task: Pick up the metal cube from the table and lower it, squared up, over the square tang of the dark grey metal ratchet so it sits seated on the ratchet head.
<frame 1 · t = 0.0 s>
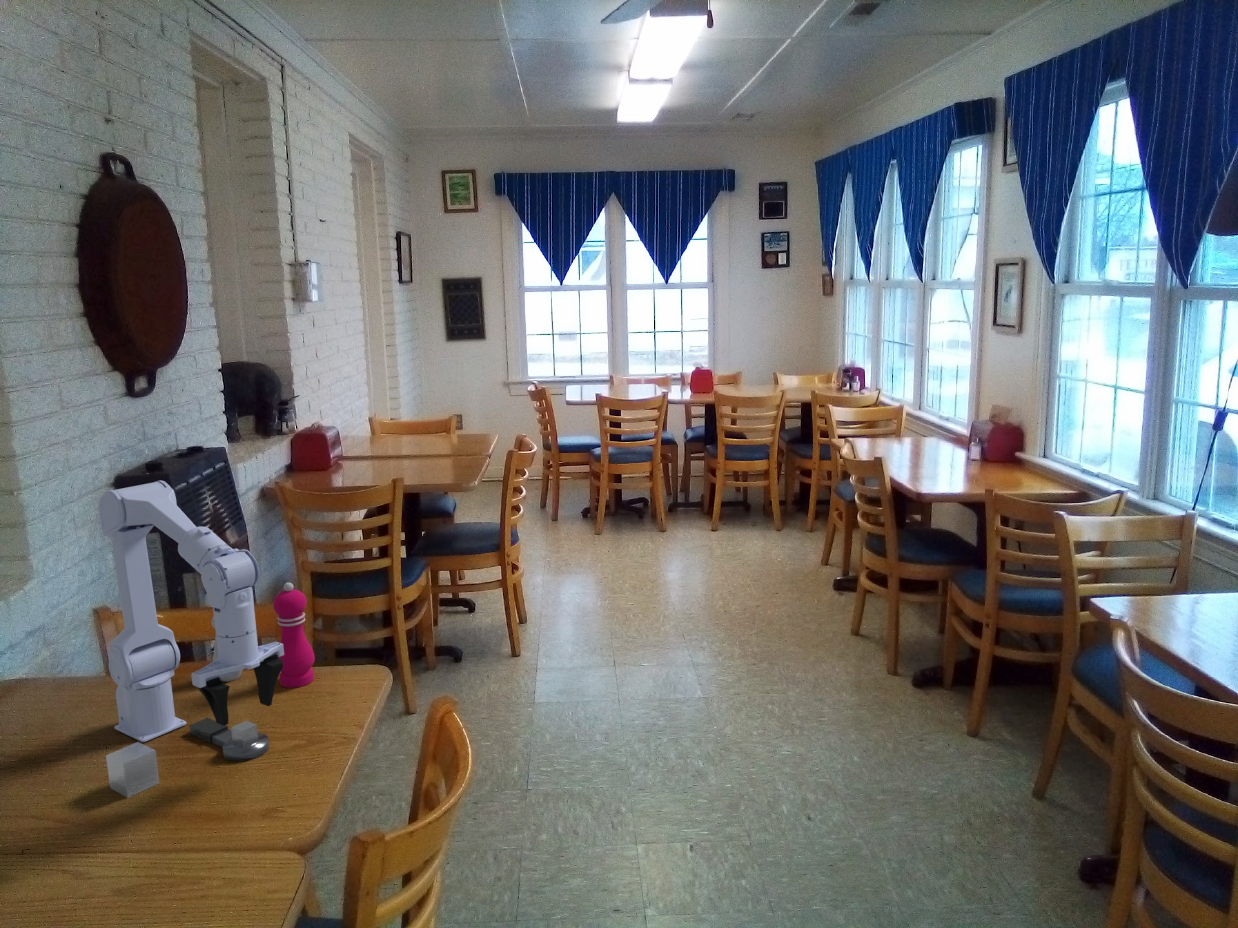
hand: (244, 713, 144), 10 cm above the table, tool pointing down, fingers open, 7 cm apart
pepper mill: (297, 682, 180), on the table
salt shaker: (229, 678, 182), on the table
ratchet: (246, 750, 153), on the table
metal cube: (135, 785, 143), on the table
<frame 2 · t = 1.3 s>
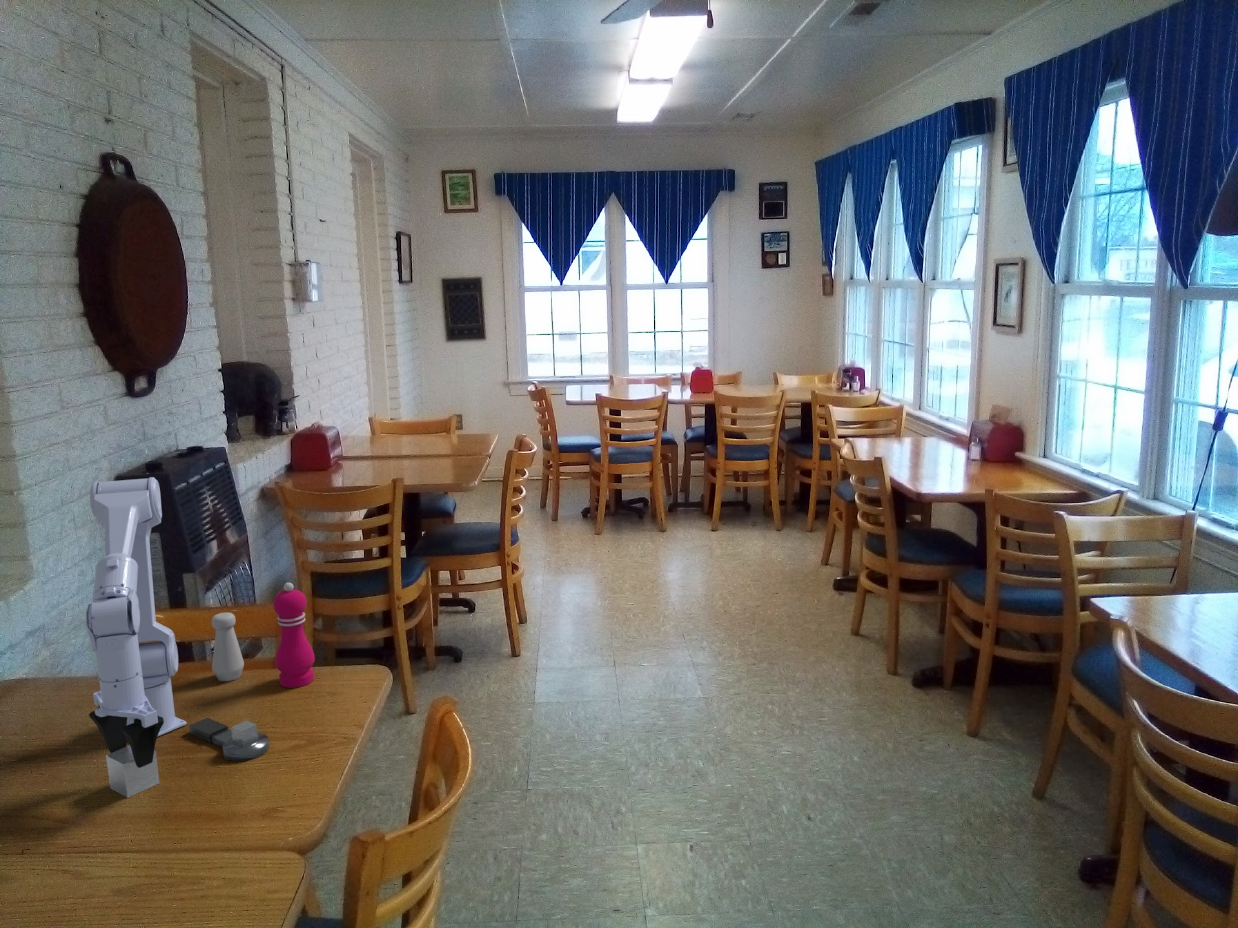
hand: (131, 757, 142), 5 cm above the table, tool pointing down, fingers open, 7 cm apart
nothing on the table moved.
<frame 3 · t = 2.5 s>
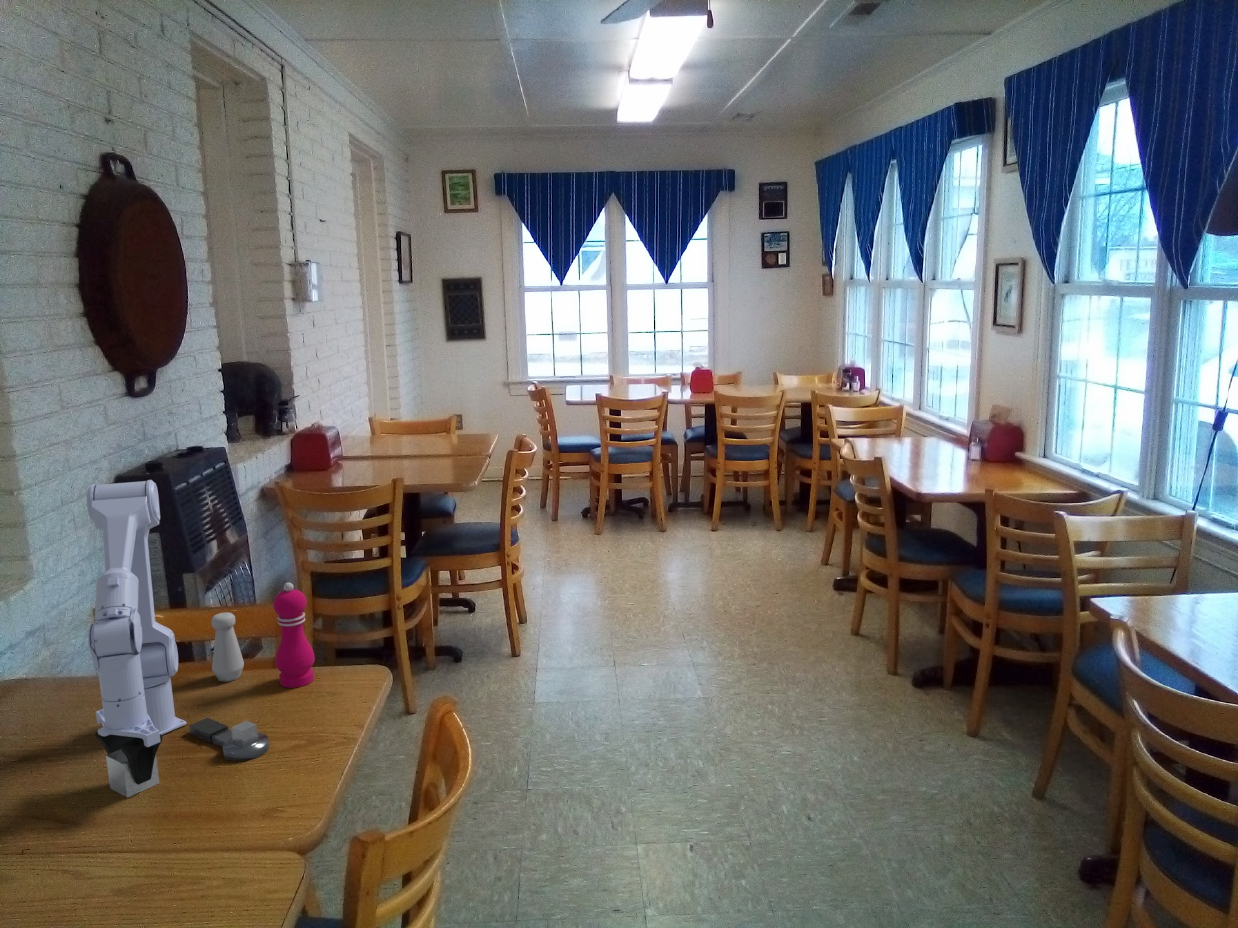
hand: (133, 775, 142), 2 cm above the table, tool pointing down, fingers closed on metal cube, 5 cm apart
metal cube: (135, 785, 143), on the table, touching gripper
everything else where it was.
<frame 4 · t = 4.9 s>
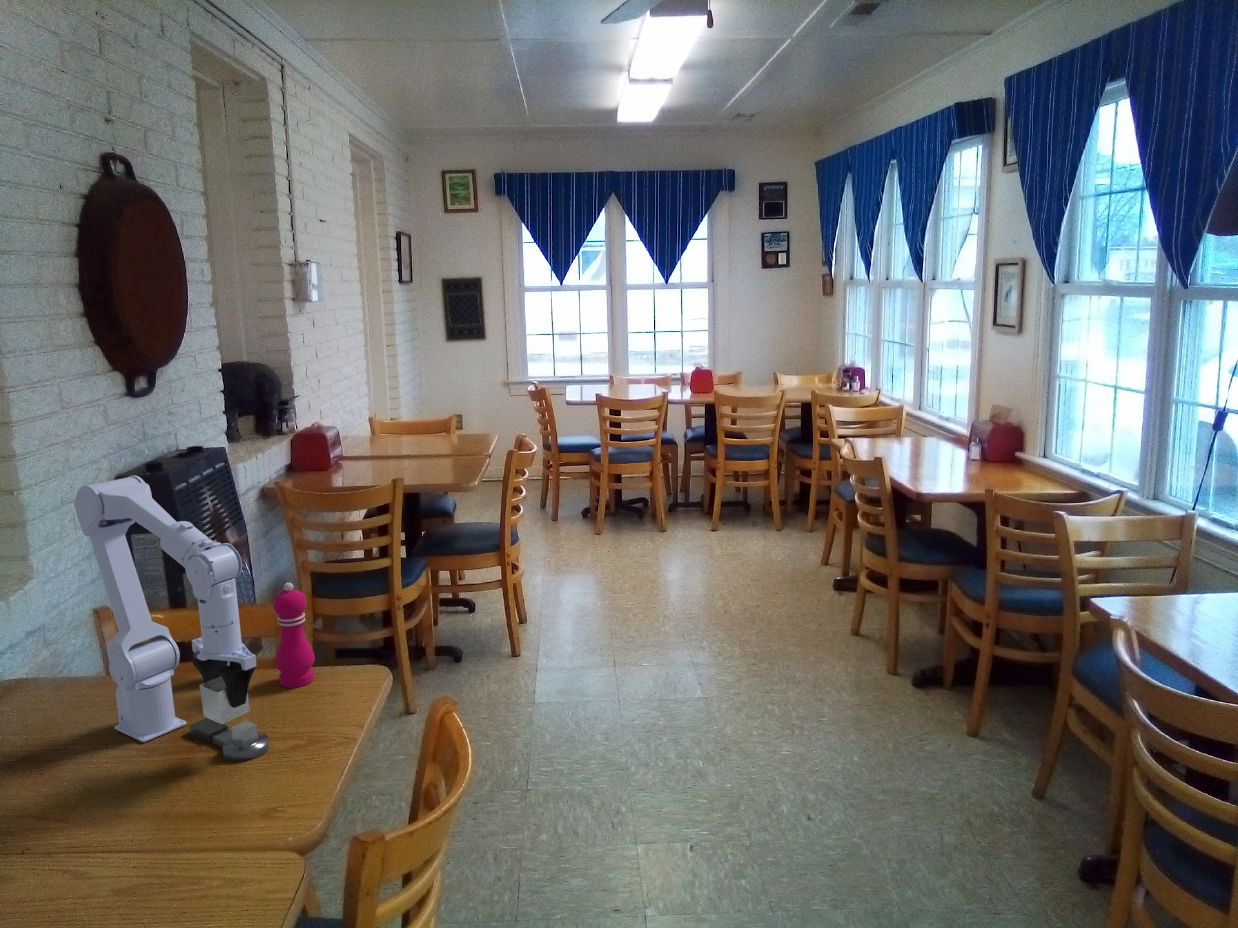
hand: (228, 700, 150), 9 cm above the table, tool pointing down, fingers closed on metal cube, 5 cm apart
metal cube: (227, 713, 150), point 7 cm above the table, touching gripper
everything else where it was.
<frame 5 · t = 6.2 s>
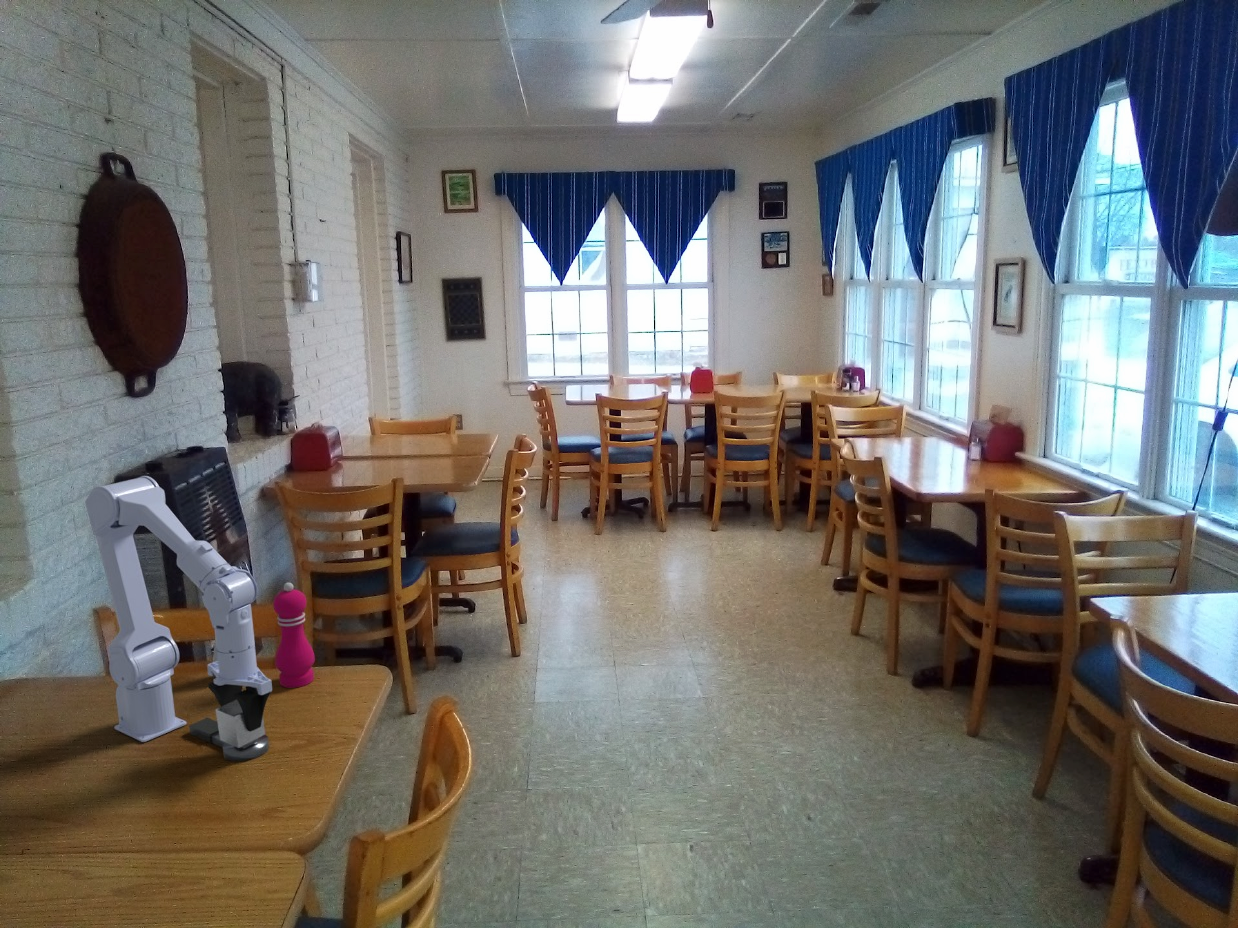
hand: (243, 724, 152), 5 cm above the table, tool pointing down, fingers closed on metal cube, 5 cm apart
metal cube: (242, 736, 152), point 3 cm above the table, touching gripper
everything else where it was.
when the fingers open (4 cm above the table, at t = 7.3 s): metal cube stays where it is, resting on ratchet.
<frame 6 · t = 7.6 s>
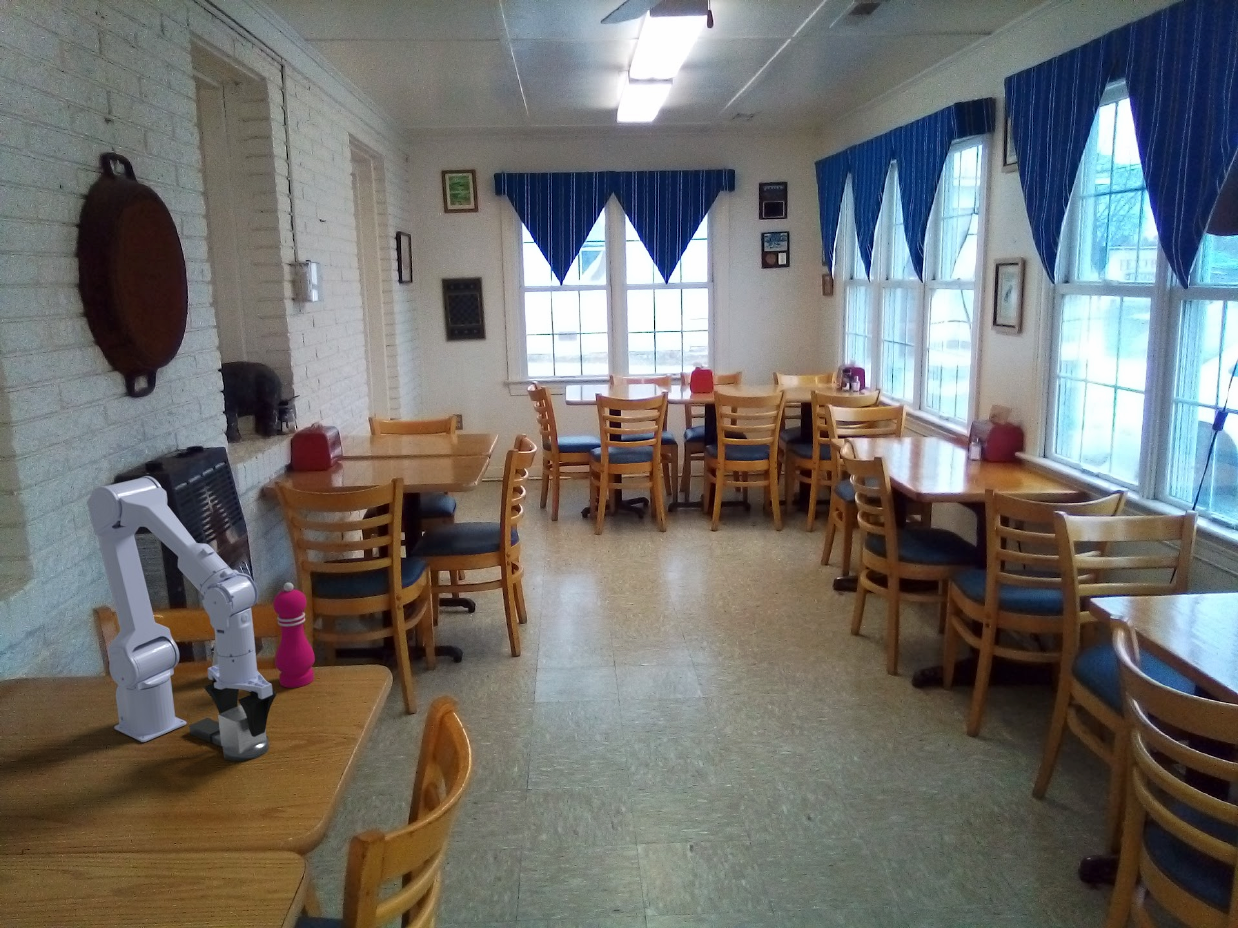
hand: (244, 728, 152), 4 cm above the table, tool pointing down, fingers open, 7 cm apart
metal cube: (244, 743, 153), point 1 cm above the table, touching ratchet
everything else where it was.
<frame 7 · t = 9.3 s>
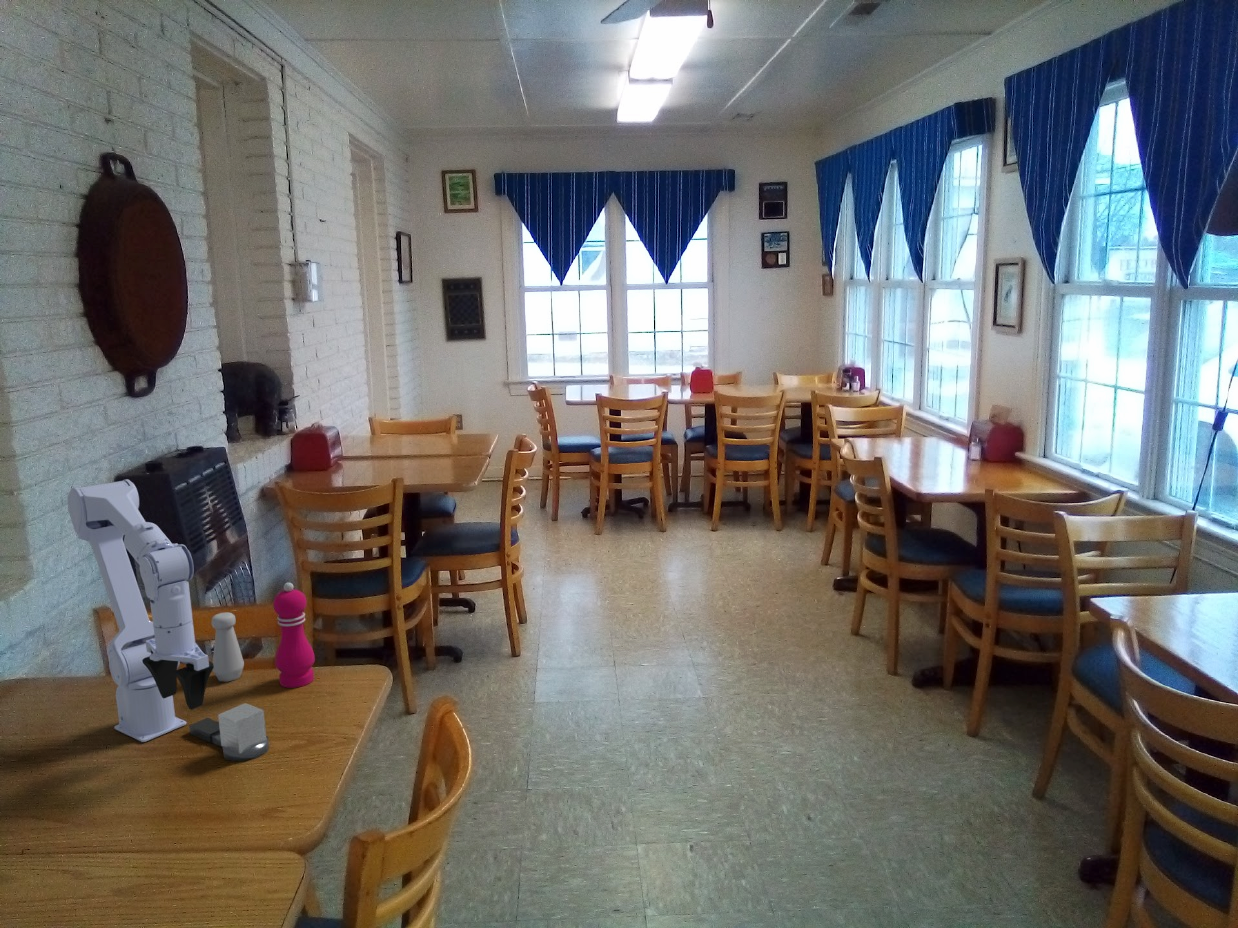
hand: (182, 701, 150), 9 cm above the table, tool pointing down, fingers open, 7 cm apart
nothing on the table moved.
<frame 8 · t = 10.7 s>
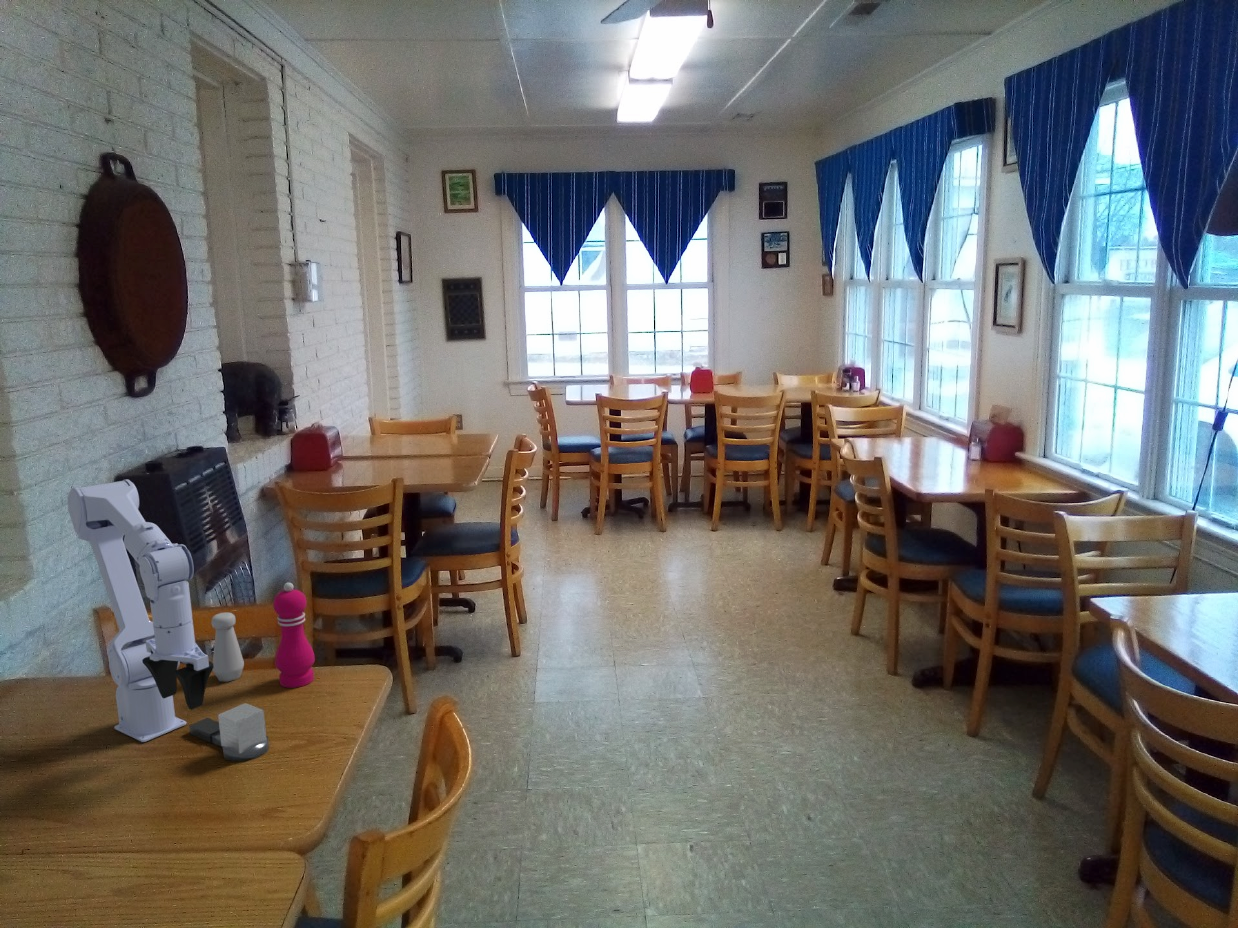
hand: (182, 701, 150), 9 cm above the table, tool pointing down, fingers open, 7 cm apart
nothing on the table moved.
at the end: metal cube 0.3 cm off-centre on the ratchet, point 1.4 cm above the ratchet's base; metal cube tilted 0°; the gripper is holding nothing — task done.
